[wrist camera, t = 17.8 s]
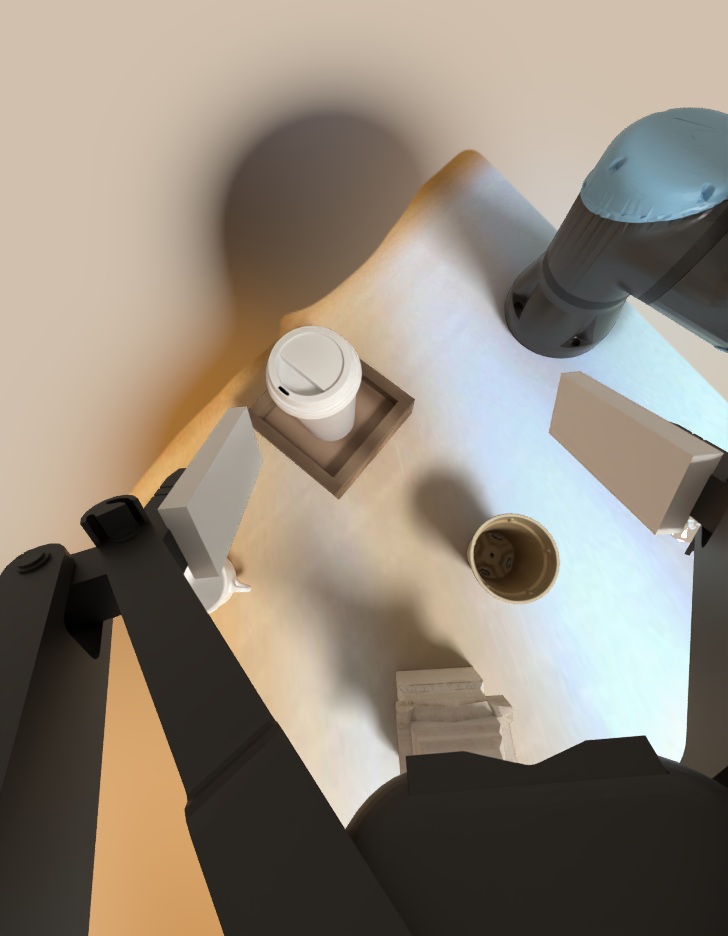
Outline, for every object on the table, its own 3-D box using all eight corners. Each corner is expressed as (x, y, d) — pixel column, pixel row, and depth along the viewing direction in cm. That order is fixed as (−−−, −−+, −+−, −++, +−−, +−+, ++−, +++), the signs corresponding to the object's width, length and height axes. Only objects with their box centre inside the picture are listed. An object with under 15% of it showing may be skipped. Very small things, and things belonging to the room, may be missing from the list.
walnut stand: (327, 350, 53) (321, 330, 48) (411, 413, 51) (414, 399, 46) (254, 429, 51) (241, 417, 46) (339, 499, 48) (334, 494, 44)
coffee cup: (284, 404, 48) (243, 344, 34) (346, 374, 49) (332, 302, 34) (314, 464, 47) (284, 429, 32) (378, 432, 47) (378, 382, 32)
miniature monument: (391, 667, 44) (417, 918, 15) (475, 662, 44) (675, 907, 14) (398, 764, 42) (447, 1288, 12) (487, 759, 41) (752, 1282, 12)
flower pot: (455, 593, 45) (473, 604, 37) (451, 519, 47) (467, 514, 39) (530, 592, 45) (565, 604, 37) (522, 518, 47) (554, 512, 39)
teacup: (179, 604, 47) (154, 612, 41) (193, 545, 48) (170, 546, 43) (253, 617, 46) (237, 626, 41) (264, 556, 47) (250, 558, 42)
